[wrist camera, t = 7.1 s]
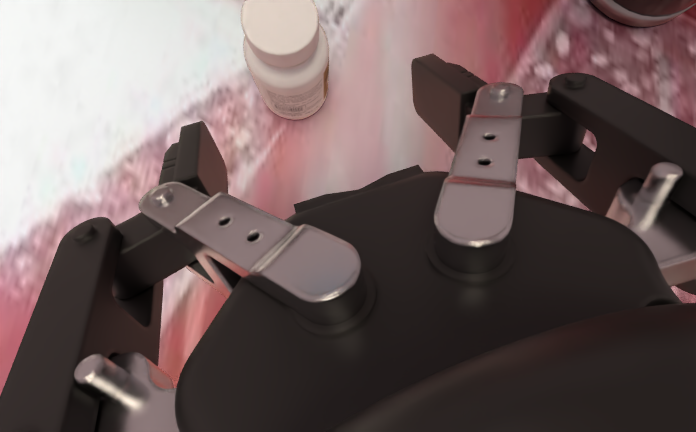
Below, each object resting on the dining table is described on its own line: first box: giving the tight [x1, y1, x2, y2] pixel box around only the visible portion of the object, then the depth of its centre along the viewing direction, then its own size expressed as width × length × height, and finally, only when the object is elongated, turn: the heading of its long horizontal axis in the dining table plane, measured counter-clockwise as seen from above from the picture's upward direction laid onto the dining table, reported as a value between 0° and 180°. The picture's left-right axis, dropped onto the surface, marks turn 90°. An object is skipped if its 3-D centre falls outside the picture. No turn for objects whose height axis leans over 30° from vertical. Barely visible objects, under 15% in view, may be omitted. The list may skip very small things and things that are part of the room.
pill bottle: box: [241, 0, 329, 120], centre depth 19 cm, size 4×4×8 cm
